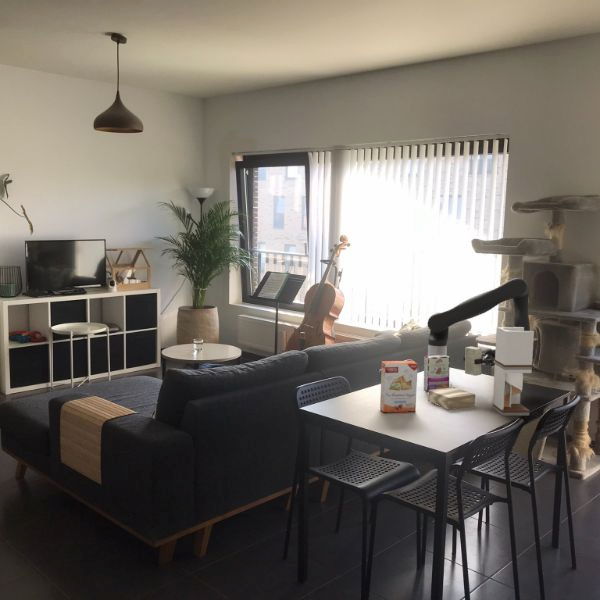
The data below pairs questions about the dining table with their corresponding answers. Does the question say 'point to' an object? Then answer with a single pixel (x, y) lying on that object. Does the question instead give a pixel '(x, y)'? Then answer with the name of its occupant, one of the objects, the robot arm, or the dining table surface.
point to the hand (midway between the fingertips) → (469, 360)
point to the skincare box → (472, 360)
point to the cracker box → (398, 386)
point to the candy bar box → (436, 372)
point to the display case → (511, 368)
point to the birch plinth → (451, 397)
